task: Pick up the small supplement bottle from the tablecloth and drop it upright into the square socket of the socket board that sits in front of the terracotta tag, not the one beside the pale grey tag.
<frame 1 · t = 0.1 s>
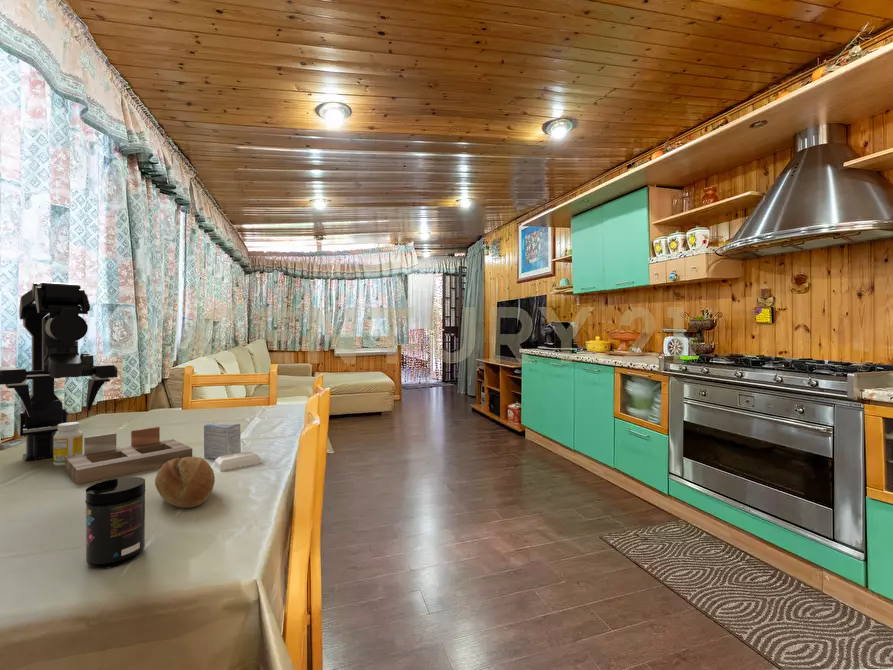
hand: (60, 413, 90), 15 cm above the table, fingers open, 9 cm apart
supplement container: (116, 558, 60), on the table
supplement bottle: (68, 463, 103), on the table
socket board: (131, 464, 102), on the table
medicine box: (222, 458, 108), on the table
soap bar: (238, 466, 102), on the table
bread roll: (185, 500, 81), on the table
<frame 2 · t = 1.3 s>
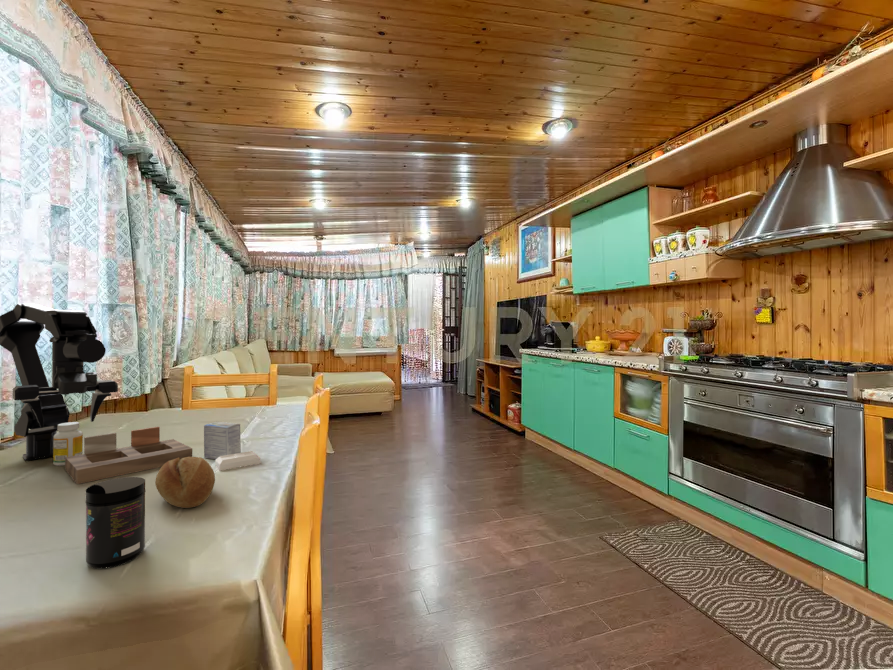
hand: (67, 424, 103), 9 cm above the table, fingers open, 9 cm apart
nothing on the table moved.
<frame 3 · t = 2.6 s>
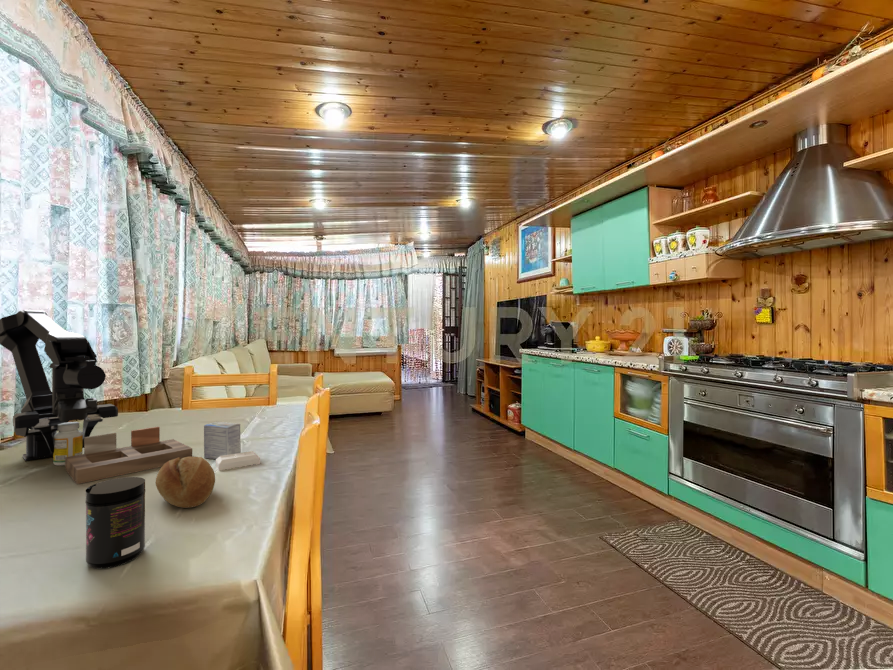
hand: (68, 450, 103), 3 cm above the table, fingers closed on supplement bottle, 5 cm apart
supplement bottle: (68, 463, 103), on the table, touching gripper
everything else where it was.
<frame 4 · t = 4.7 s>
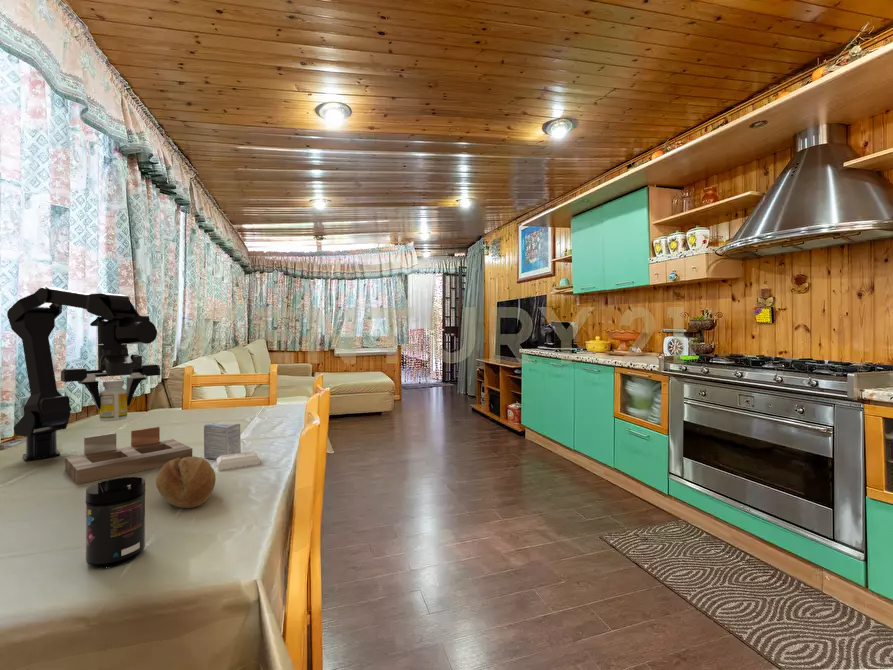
hand: (113, 407, 104), 14 cm above the table, fingers closed on supplement bottle, 5 cm apart
supplement bottle: (113, 420, 104), point 10 cm above the table, touching gripper
everything else where it was.
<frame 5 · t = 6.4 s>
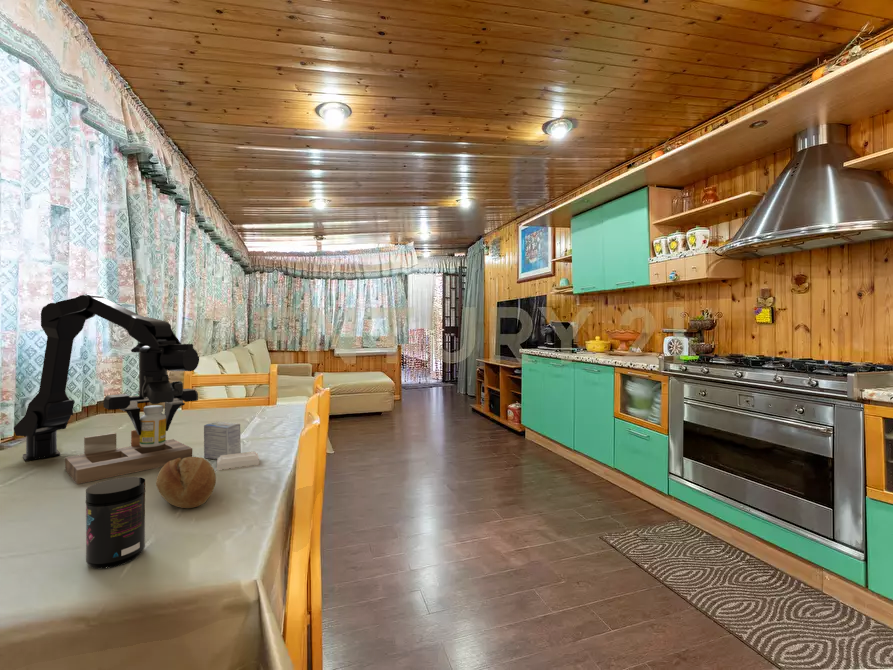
hand: (153, 432, 105), 7 cm above the table, fingers closed on supplement bottle, 5 cm apart
supplement bottle: (152, 445, 105), point 4 cm above the table, touching gripper
everything else where it was.
when the fingers open (4 cm above the table, at t = 7.3 s): supplement bottle drops 1 cm, resting in socket board.
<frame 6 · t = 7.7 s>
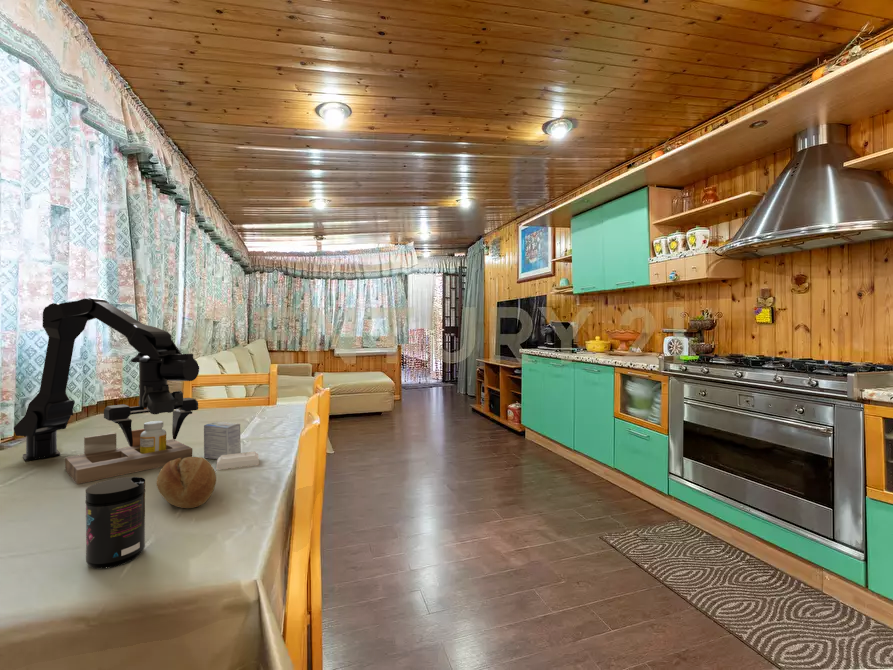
hand: (153, 442, 105), 4 cm above the table, fingers open, 9 cm apart
supplement bottle: (153, 461, 105), resting in socket board
everything else where it was.
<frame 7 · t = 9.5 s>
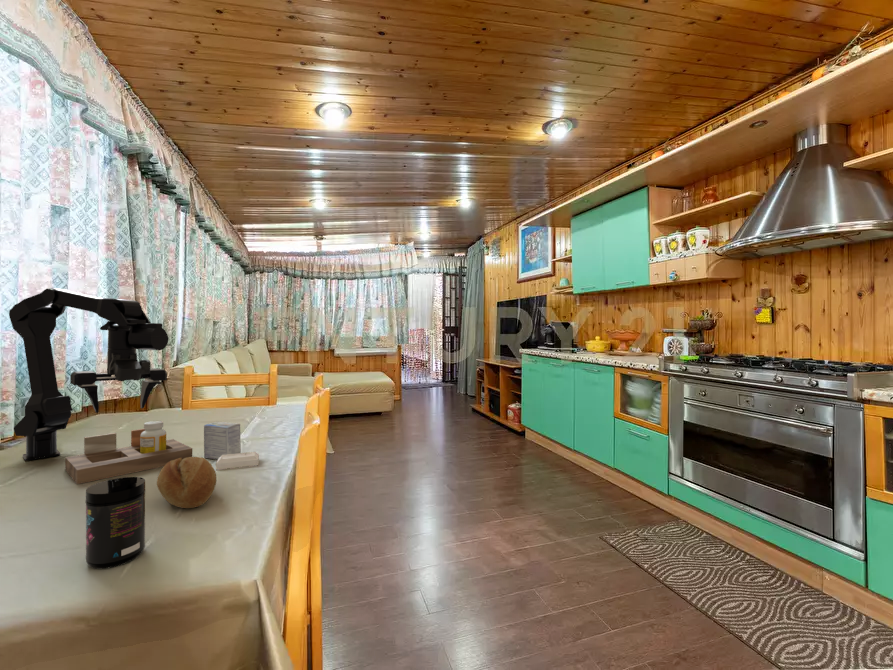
hand: (120, 410, 106), 12 cm above the table, fingers open, 9 cm apart
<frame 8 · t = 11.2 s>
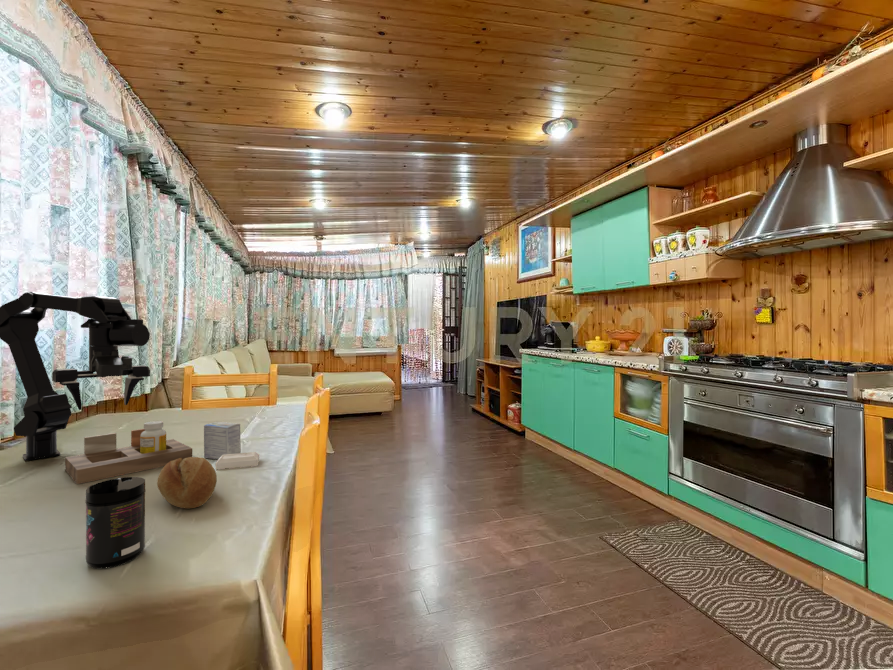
hand: (103, 407, 107), 13 cm above the table, fingers open, 9 cm apart
at the end: supplement bottle 0.0 cm from the target spot on the socket board, point 0.0 cm above the socket board's base; supplement bottle tilted 0°; the gripper is holding nothing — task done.
